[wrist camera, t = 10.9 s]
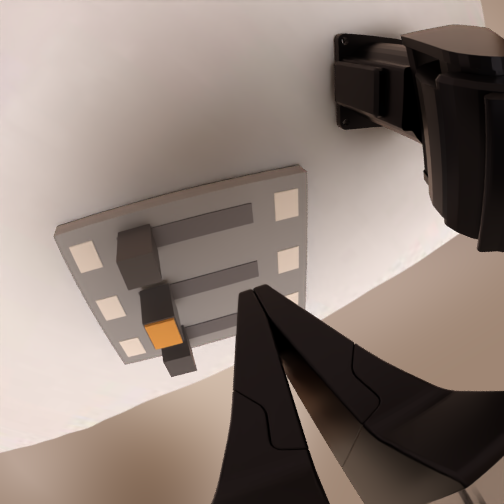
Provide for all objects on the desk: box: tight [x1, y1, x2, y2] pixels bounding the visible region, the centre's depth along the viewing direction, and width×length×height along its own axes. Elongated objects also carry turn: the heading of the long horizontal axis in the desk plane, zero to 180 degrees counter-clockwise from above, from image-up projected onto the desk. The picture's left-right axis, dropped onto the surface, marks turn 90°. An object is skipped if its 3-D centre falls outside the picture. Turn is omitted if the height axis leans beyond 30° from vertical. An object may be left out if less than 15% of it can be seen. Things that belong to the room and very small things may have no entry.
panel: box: [53, 165, 307, 377], centre depth 21 cm, size 16×13×4 cm
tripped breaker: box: [140, 283, 184, 350], centre depth 20 cm, size 2×2×3 cm
